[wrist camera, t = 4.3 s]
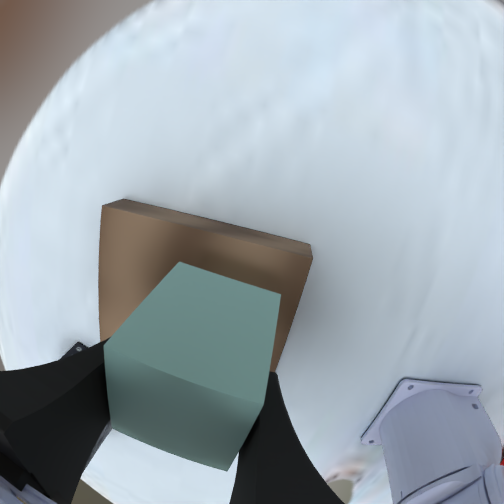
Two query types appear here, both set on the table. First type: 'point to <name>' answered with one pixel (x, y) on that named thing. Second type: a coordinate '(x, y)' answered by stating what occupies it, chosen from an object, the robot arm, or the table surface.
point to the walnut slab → (191, 260)
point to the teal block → (193, 365)
